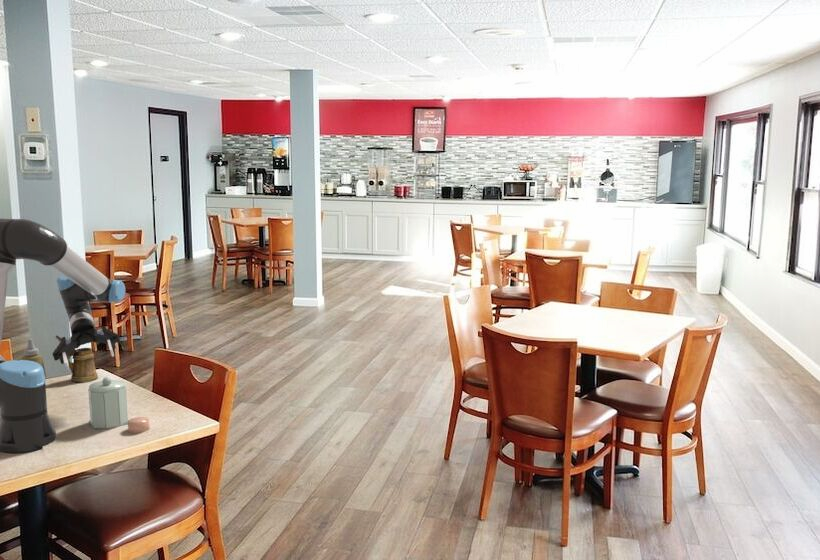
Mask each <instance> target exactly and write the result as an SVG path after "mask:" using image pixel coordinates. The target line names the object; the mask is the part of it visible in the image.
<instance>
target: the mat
mask: <svg viewBox="0 0 820 560" xmlns="http://www.w3.org/2000/svg"><path fill="white" fill-rule="evenodd" d="M88 422H89V424H90V425H91V421H90V420H88ZM91 426H92V425H91ZM123 426H128V422H126V423H124V424H123V425H121V426H120V427H123ZM92 428H93V426H92ZM112 428H114V427H112ZM112 428H111V429H112ZM107 429H109V428H107ZM107 429H106V430H107ZM93 430H94V431H102V430H104V429H103V428H93Z"/></svg>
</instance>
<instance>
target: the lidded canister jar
mask: <svg viewBox="0 0 820 560" xmlns="http://www.w3.org/2000/svg"><path fill="white" fill-rule="evenodd" d="M88 403H89V417H90V418H89V419H90V420H89V421H91V424H90V425H91V426H93V427H92V428H93V429H94V428H103V429H102V430H107V428H108V429H112V427H113V428H119V427H122V426H121V425H123V424H124V423H126V422H128V420H129V417H128V401H127V387H126V383H125V381H123V380H120V379H111V378H110V377H108V376H107V377H106V376H105V377H104V378H103V379H102V380H99V381H96V382H93V383H91V384H90V385H89V386H88Z"/></svg>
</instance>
